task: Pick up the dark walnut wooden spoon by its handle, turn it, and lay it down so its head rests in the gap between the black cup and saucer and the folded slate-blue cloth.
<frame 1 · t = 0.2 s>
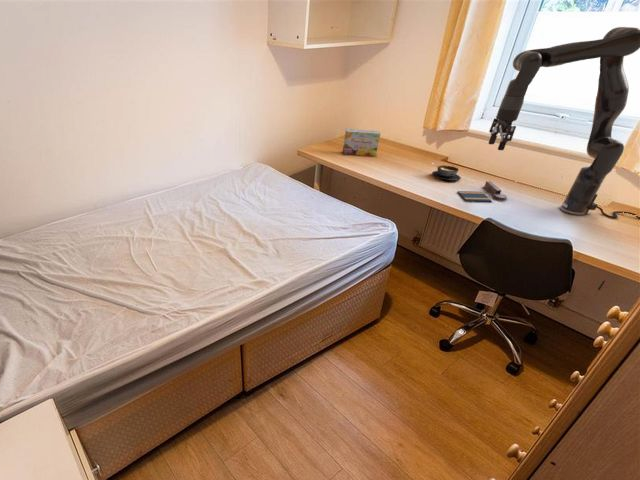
hand: (495, 147, 163), 29 cm above the table, tool pointing down, fingers open, 8 cm apart
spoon: (494, 193, 193), on the table
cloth: (473, 197, 190), on the table
black cup and saucer: (444, 177, 213), on the table
snack box: (358, 154, 247), on the table
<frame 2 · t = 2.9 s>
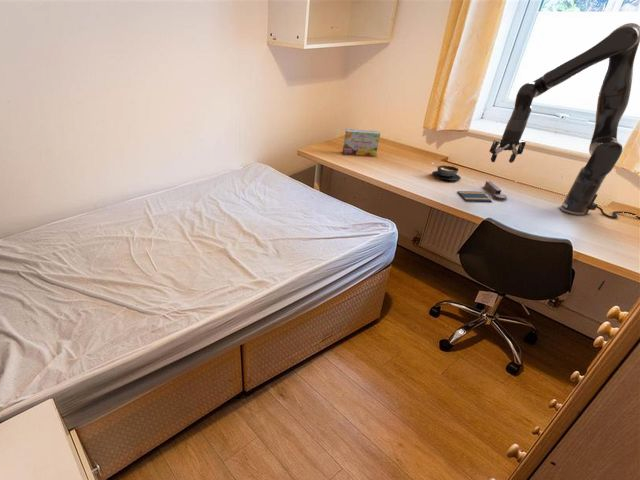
hand: (501, 162, 188), 15 cm above the table, tool pointing down, fingers open, 8 cm apart
nothing on the table moved.
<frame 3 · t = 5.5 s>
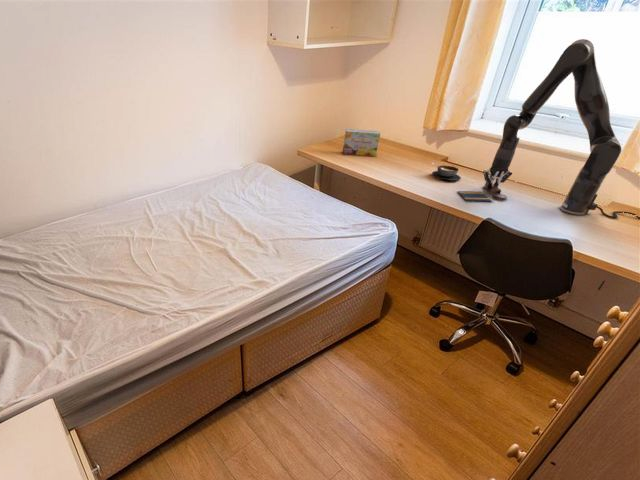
hand: (491, 189, 196), 1 cm above the table, tool pointing down, fingers closed on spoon, 2 cm apart
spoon: (494, 193, 193), on the table, touching gripper
everything else where it was.
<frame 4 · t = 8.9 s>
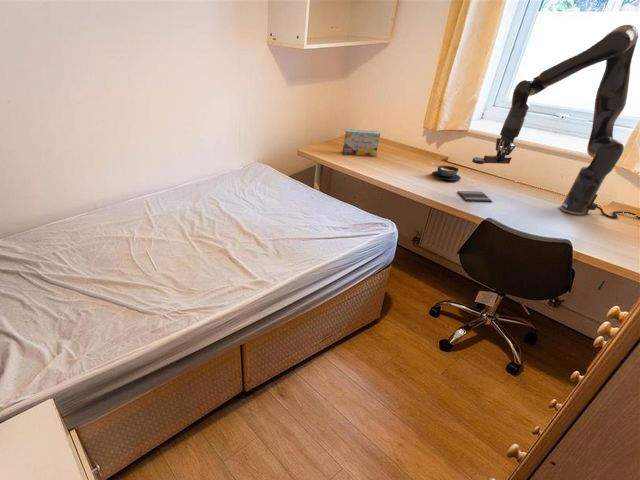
hand: (498, 161, 189), 15 cm above the table, tool pointing down, fingers closed on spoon
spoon: (489, 162, 189), point 15 cm above the table, touching gripper
everything else where it was.
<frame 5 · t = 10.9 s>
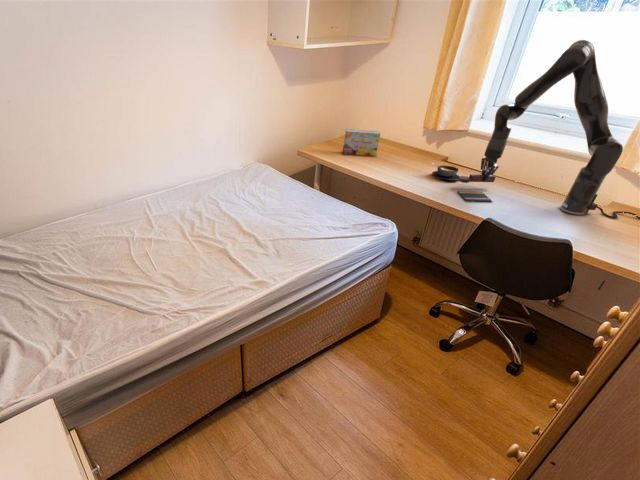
hand: (483, 180, 197), 4 cm above the table, tool pointing down, fingers closed on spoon
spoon: (474, 181, 198), point 4 cm above the table, touching gripper
everything else where it was.
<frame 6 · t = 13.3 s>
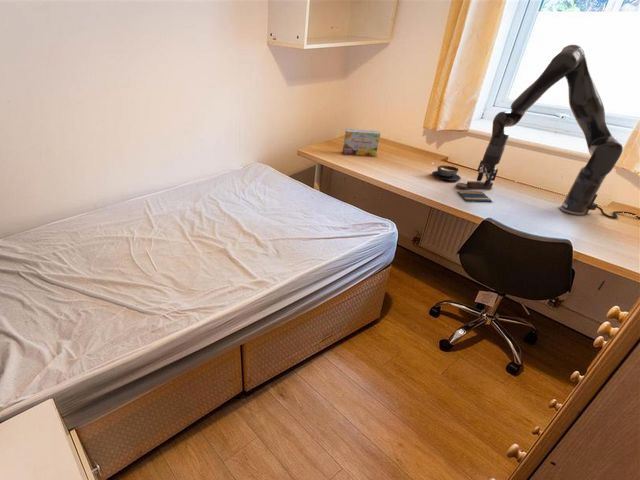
hand: (482, 183, 199), 2 cm above the table, tool pointing down, fingers open, 8 cm apart
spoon: (472, 187, 200), on the table
everything else where it was.
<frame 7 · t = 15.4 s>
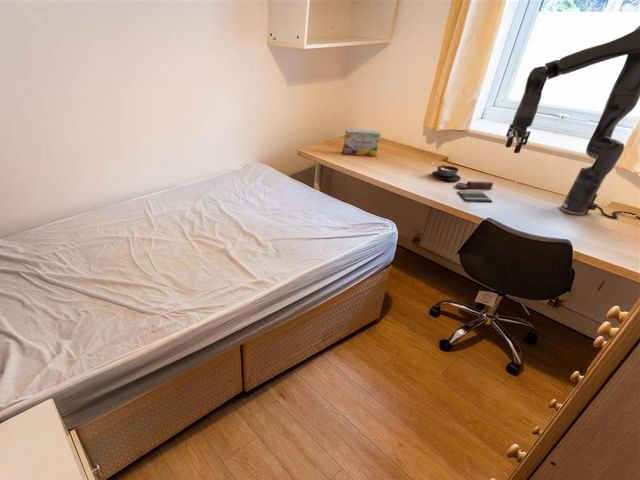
hand: (511, 150, 180), 23 cm above the table, tool pointing down, fingers open, 8 cm apart
nothing on the table moved.
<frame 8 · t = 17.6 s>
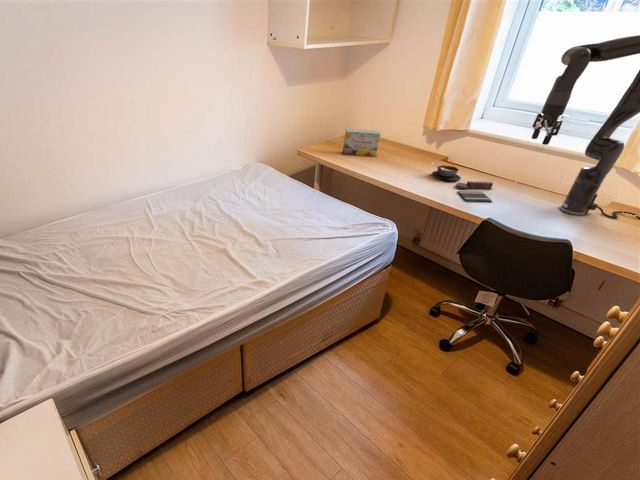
hand: (539, 141, 166), 30 cm above the table, tool pointing down, fingers open, 8 cm apart
nothing on the table moved.
at the end: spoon 0.2 cm from the target spot, on the table; the gripper is holding nothing; black cup and saucer moved 0.2 cm from its start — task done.
